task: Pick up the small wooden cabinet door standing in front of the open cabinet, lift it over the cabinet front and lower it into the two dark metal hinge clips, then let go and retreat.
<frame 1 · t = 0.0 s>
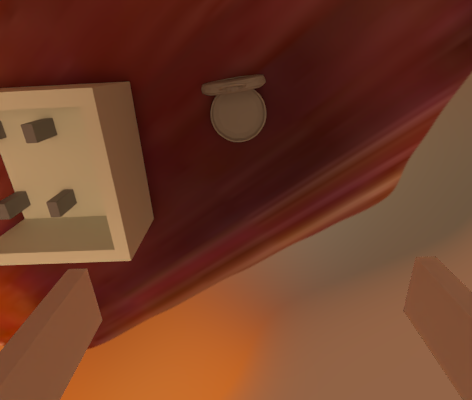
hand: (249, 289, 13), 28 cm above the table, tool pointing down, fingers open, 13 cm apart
cabinet: (77, 159, 39), on the table
pocket watch: (238, 102, 37), on the table
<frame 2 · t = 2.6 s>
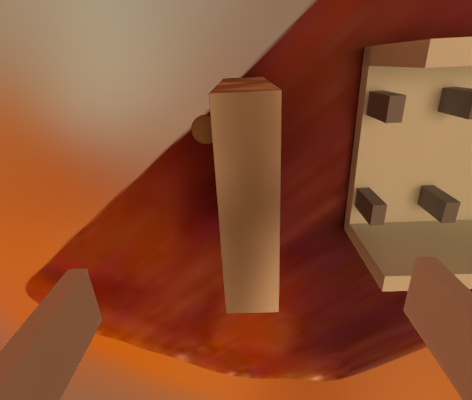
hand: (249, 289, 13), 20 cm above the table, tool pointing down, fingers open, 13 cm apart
cabinet: (441, 145, 30), on the table
door: (245, 153, 30), on the table
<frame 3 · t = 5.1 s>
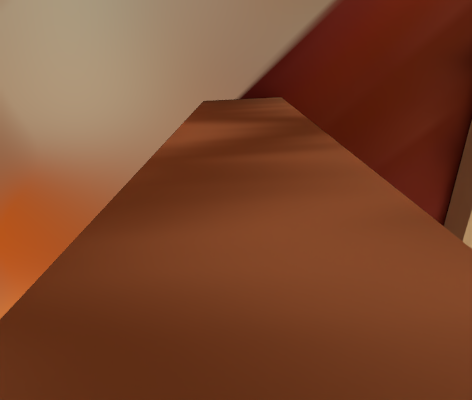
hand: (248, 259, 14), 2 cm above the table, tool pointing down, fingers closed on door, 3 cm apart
door: (247, 233, 17), on the table, touching gripper
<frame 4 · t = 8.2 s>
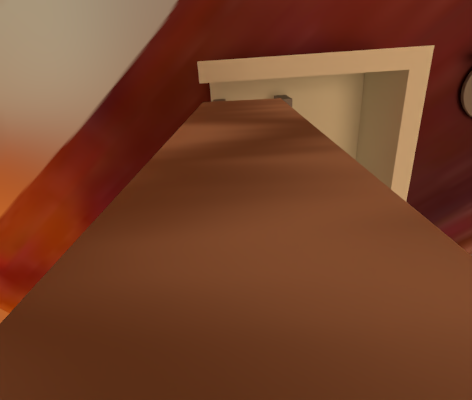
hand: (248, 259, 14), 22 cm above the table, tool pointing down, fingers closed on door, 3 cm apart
cabinet: (290, 144, 35), on the table
door: (246, 234, 17), point 20 cm above the table, touching gripper
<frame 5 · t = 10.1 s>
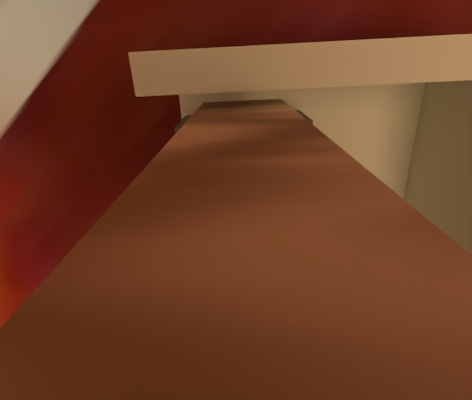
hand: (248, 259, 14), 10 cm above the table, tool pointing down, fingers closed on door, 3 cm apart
cabinet: (303, 180, 23), on the table
door: (247, 234, 17), point 8 cm above the table, touching gripper
when the fingers open (5 cm above the table, at t = 11.6 s): door drops 1 cm, resting on cabinet.
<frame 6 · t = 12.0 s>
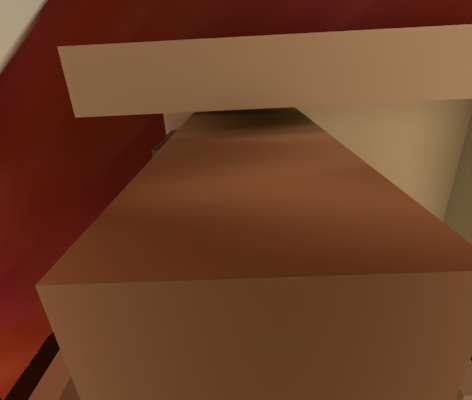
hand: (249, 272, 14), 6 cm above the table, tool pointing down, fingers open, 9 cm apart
cabinet: (317, 207, 19), on the table
door: (247, 221, 18), point 1 cm above the table, touching cabinet
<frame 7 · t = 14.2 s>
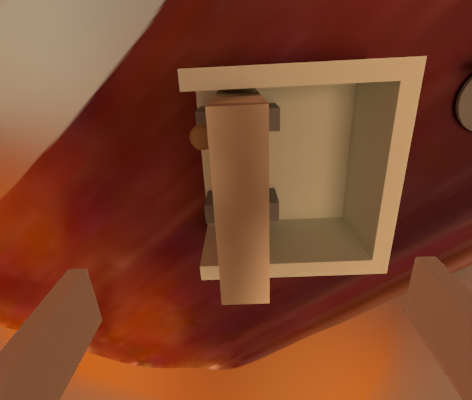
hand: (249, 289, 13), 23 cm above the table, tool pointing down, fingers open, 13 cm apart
cabinet: (280, 152, 34), on the table
door: (240, 158, 32), point 1 cm above the table, touching cabinet
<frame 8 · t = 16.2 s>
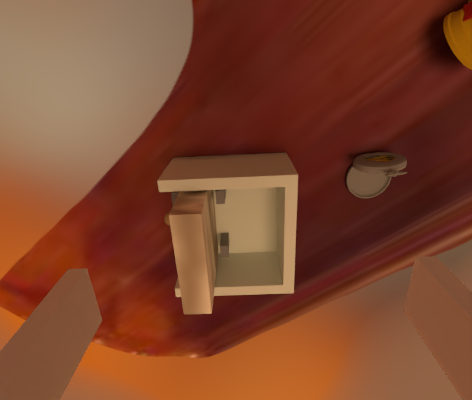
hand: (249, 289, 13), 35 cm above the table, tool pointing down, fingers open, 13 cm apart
cabinet: (232, 208, 50), on the table
pocket watch: (367, 168, 47), on the table
door: (204, 214, 48), point 1 cm above the table, touching cabinet
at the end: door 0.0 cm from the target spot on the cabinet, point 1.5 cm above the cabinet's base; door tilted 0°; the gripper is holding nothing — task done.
